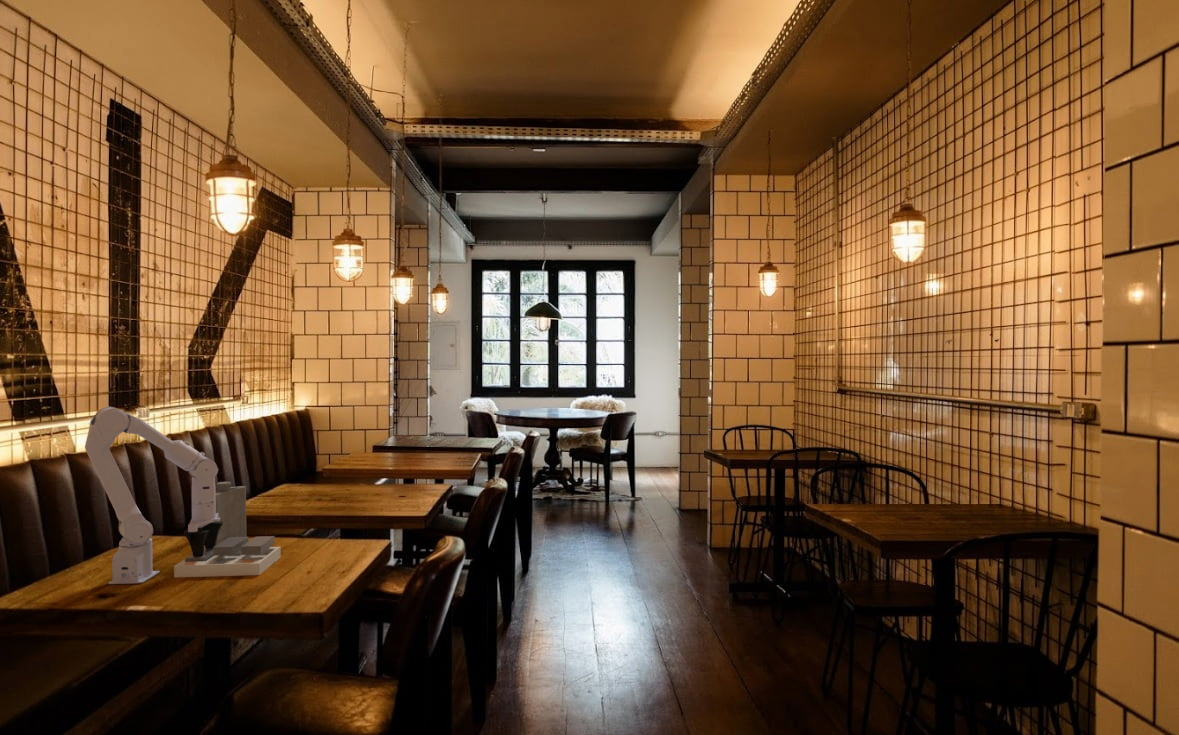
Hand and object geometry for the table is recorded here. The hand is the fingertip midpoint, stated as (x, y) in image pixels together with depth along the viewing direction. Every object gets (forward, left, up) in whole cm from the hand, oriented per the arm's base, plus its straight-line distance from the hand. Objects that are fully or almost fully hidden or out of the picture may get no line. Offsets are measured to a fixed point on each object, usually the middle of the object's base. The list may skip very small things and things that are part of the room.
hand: (204, 552), depth 200 cm
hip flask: (+17, +1, -4) cm, 17 cm away
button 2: (0, -14, +1) cm, 14 cm away
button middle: (0, -7, +1) cm, 7 cm away
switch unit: (0, -7, -4) cm, 8 cm away
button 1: (0, 0, -2) cm, 2 cm away
